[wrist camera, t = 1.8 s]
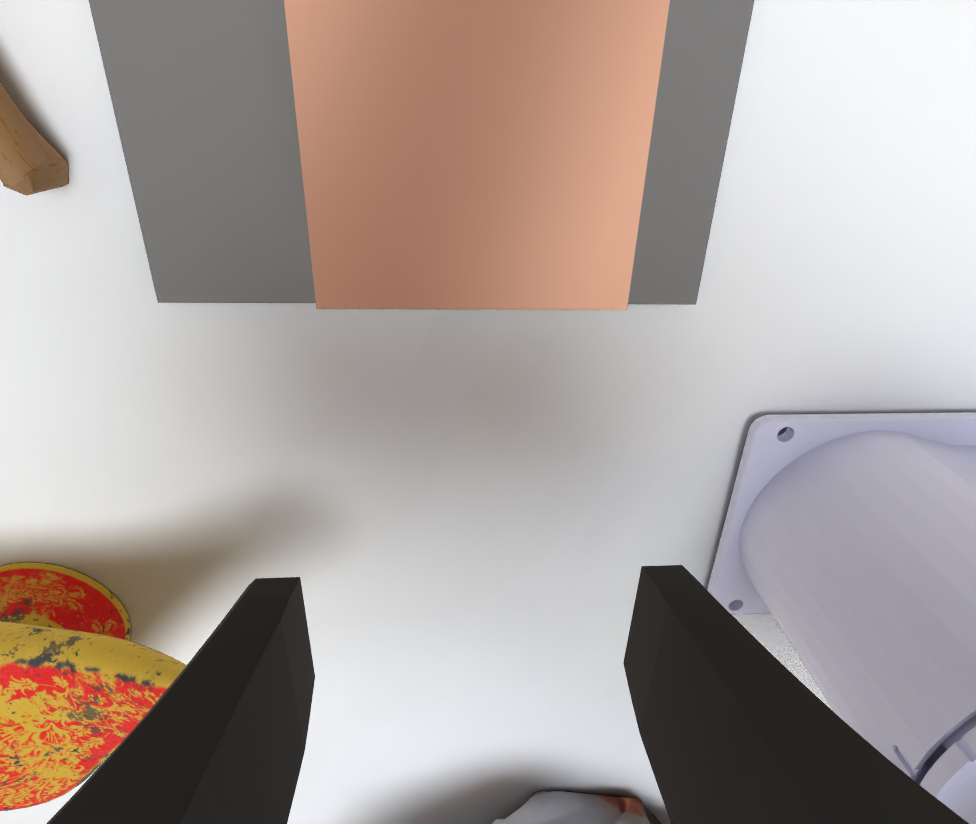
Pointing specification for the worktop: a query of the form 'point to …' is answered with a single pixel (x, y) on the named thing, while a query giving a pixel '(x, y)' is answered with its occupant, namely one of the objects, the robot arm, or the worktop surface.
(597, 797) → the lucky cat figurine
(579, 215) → the maple block
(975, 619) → the robot arm
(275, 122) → the rubber mat
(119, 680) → the magic lamp
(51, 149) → the folding knife
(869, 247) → the worktop surface
